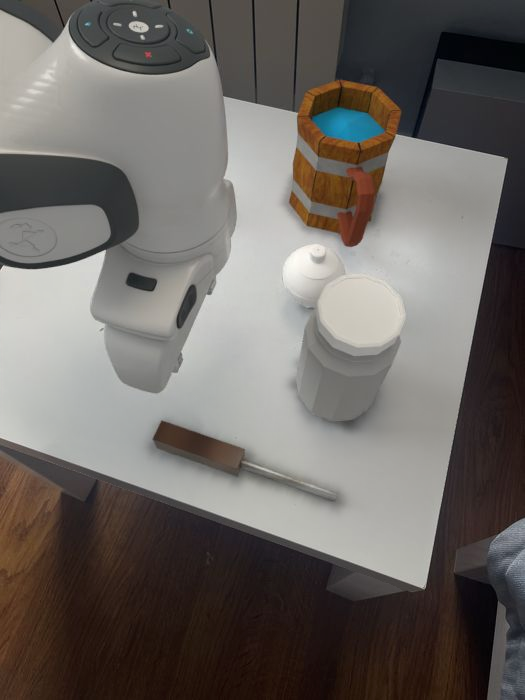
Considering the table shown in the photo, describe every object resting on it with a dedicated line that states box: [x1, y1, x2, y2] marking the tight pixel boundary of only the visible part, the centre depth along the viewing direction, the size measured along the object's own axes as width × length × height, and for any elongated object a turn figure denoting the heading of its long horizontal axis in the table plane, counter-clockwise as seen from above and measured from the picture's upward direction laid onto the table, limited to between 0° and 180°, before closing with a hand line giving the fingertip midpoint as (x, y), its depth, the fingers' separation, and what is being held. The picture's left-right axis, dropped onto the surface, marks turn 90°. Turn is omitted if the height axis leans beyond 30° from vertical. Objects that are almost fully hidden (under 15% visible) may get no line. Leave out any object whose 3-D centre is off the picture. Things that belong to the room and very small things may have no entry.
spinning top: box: [281, 243, 347, 309], centre depth 66 cm, size 8×8×12 cm
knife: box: [152, 419, 338, 502], centre depth 60 cm, size 21×2×3 cm, turn 71°
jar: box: [295, 273, 407, 422], centre depth 58 cm, size 10×10×18 cm
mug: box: [288, 79, 402, 248], centre depth 73 cm, size 20×14×15 cm
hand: (190, 325), depth 54 cm, fingers open, 8 cm apart
